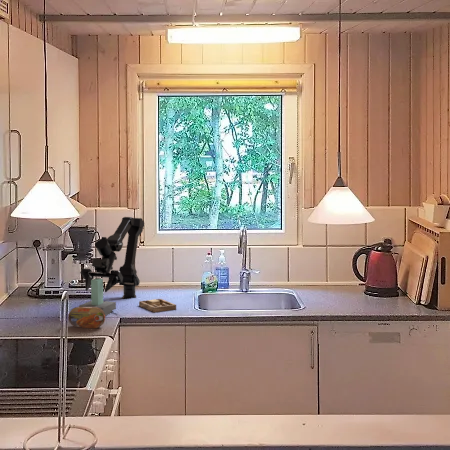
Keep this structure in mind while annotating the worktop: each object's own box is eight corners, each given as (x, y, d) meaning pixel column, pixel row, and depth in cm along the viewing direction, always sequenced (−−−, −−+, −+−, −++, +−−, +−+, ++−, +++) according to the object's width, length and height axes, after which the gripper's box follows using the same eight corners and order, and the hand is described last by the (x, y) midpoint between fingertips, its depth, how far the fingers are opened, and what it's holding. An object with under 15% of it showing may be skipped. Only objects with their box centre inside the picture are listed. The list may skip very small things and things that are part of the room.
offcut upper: (147, 303, 333) (147, 300, 333) (155, 302, 335) (155, 299, 335) (152, 304, 330) (152, 302, 330) (160, 303, 332) (160, 300, 332)
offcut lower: (148, 305, 333) (147, 303, 333) (155, 304, 335) (155, 302, 335) (152, 307, 330) (151, 304, 330) (159, 306, 332) (159, 303, 332)
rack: (139, 307, 333) (139, 301, 333) (160, 305, 339) (160, 298, 339) (154, 314, 321) (154, 307, 320) (176, 311, 327) (176, 304, 326)
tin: (68, 327, 299) (68, 307, 298) (71, 325, 302) (70, 305, 301) (103, 329, 296) (103, 308, 295) (106, 327, 299) (106, 306, 298)
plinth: (91, 308, 331) (91, 300, 330) (115, 310, 327) (115, 302, 327) (78, 314, 319) (78, 305, 319) (103, 317, 316) (103, 307, 315)
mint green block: (96, 302, 326) (96, 278, 324) (103, 303, 325) (102, 278, 323) (91, 304, 321) (90, 280, 320) (98, 305, 320) (97, 280, 319)
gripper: (81, 250, 327) (69, 279, 318) (119, 252, 321) (108, 281, 312) (90, 265, 335) (79, 293, 326) (127, 267, 330) (117, 296, 320)
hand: (95, 291), depth 321 cm, fingers open, 9 cm apart
